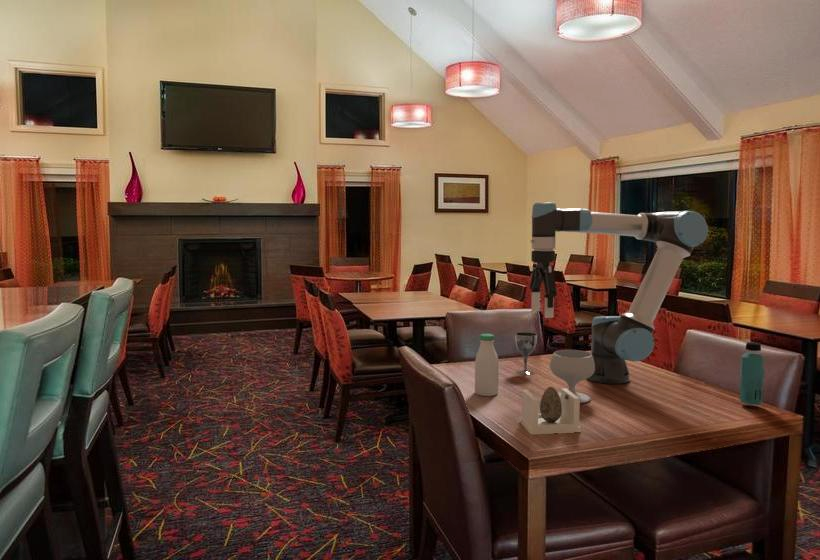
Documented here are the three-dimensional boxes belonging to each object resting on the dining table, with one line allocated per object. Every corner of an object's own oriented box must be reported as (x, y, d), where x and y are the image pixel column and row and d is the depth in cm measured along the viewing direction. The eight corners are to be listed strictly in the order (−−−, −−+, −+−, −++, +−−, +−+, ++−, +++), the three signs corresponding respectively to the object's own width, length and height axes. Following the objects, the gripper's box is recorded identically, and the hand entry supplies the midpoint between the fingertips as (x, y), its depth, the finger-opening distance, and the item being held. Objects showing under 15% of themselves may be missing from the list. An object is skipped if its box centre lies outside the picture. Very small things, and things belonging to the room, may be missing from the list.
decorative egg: (560, 426, 163) (560, 391, 162) (538, 424, 165) (538, 388, 164) (562, 420, 168) (563, 385, 167) (541, 417, 170) (542, 383, 169)
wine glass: (539, 371, 227) (539, 333, 226) (531, 376, 221) (532, 336, 219) (519, 369, 232) (520, 331, 230) (511, 373, 225) (512, 334, 223)
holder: (567, 420, 172) (568, 388, 171) (580, 432, 162) (581, 398, 161) (520, 422, 171) (520, 389, 170) (530, 434, 161) (531, 400, 160)
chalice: (545, 392, 200) (546, 348, 199) (587, 392, 200) (588, 348, 198) (554, 405, 186) (555, 358, 185) (599, 405, 186) (600, 358, 184)
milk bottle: (497, 397, 195) (498, 337, 193) (473, 396, 196) (474, 336, 194) (498, 390, 202) (499, 332, 200) (475, 389, 204) (476, 332, 202)
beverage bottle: (754, 410, 180) (757, 345, 178) (733, 404, 186) (736, 341, 184) (767, 407, 183) (771, 343, 181) (746, 401, 189) (750, 339, 187)
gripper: (521, 248, 206) (520, 308, 208) (544, 252, 181) (543, 320, 184) (542, 248, 207) (540, 308, 209) (568, 251, 182) (566, 320, 184)
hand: (542, 314), depth 196 cm, fingers open, 13 cm apart
